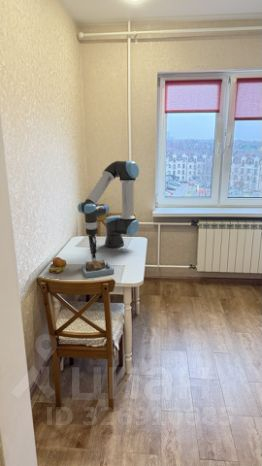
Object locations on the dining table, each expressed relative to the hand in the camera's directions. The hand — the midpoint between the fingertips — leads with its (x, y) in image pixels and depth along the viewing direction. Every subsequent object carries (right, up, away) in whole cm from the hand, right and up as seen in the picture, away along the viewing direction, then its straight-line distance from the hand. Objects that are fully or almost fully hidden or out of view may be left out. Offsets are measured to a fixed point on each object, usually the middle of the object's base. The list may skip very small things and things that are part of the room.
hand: (93, 261), depth 215 cm
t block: (+3, -4, -10) cm, 11 cm away
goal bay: (+3, -5, -11) cm, 12 cm away
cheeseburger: (-22, -5, -9) cm, 24 cm away
